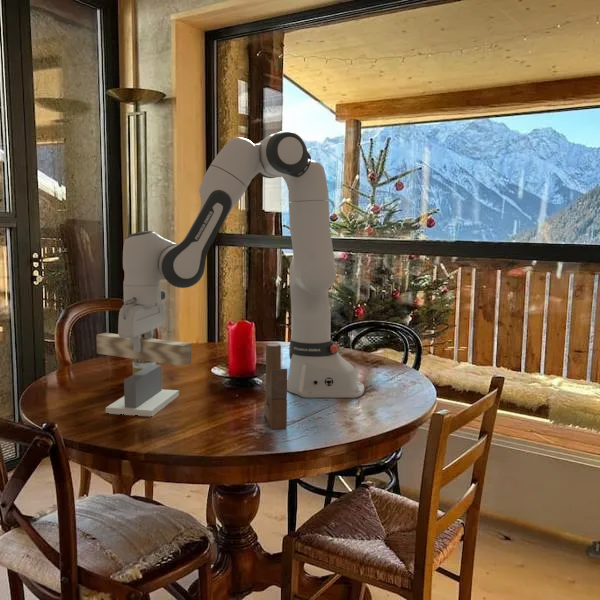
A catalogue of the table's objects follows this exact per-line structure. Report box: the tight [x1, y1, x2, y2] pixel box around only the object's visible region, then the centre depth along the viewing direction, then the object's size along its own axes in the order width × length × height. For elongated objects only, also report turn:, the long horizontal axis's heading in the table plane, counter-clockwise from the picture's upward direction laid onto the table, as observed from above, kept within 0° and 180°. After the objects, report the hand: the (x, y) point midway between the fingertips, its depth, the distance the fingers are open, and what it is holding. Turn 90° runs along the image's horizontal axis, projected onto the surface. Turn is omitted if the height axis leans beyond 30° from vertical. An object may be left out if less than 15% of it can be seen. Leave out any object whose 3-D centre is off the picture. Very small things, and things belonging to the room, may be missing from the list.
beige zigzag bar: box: [95, 332, 192, 367], centre depth 152 cm, size 28×4×5 cm, turn 64°
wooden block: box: [263, 343, 288, 431], centre depth 140 cm, size 4×11×18 cm, turn 12°
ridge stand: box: [105, 364, 180, 417], centre depth 153 cm, size 12×18×8 cm, turn 171°
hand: (142, 349), depth 152 cm, fingers closed on beige zigzag bar, 4 cm apart
